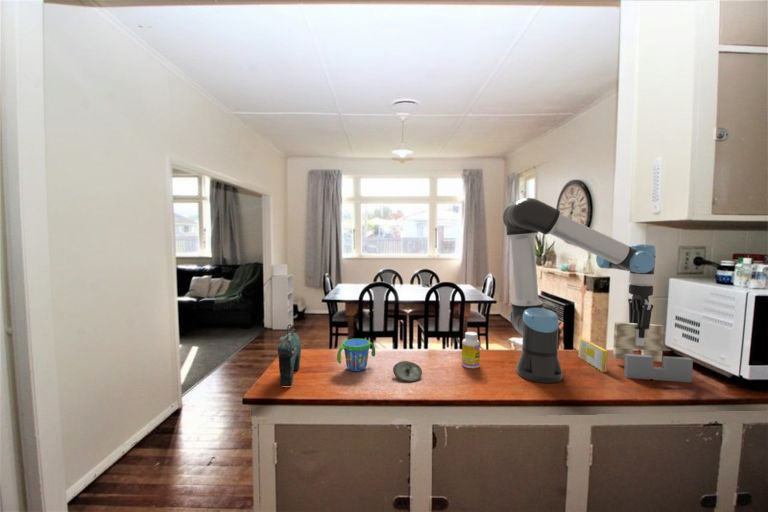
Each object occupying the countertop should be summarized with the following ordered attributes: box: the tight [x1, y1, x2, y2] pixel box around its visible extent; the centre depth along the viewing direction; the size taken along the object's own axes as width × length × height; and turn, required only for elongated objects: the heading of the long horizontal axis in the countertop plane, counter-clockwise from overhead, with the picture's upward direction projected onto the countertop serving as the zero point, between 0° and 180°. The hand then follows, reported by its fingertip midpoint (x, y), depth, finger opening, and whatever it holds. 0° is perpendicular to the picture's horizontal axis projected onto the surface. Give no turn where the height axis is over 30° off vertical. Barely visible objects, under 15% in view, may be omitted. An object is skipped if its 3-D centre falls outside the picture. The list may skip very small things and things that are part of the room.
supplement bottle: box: [461, 331, 481, 369], centre depth 133 cm, size 7×7×13 cm
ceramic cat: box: [277, 323, 302, 387], centre depth 122 cm, size 20×6×20 cm, turn 3°
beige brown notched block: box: [612, 321, 665, 363], centre depth 133 cm, size 16×2×14 cm, turn 79°
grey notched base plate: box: [623, 353, 694, 383], centre depth 121 cm, size 20×2×8 cm, turn 79°
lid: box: [392, 360, 423, 383], centre depth 123 cm, size 11×10×5 cm
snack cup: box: [336, 338, 376, 372], centre depth 131 cm, size 16×10×10 cm
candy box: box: [578, 337, 609, 373], centre depth 135 cm, size 16×2×8 cm, turn 179°
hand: (637, 344), depth 133 cm, fingers closed on beige brown notched block, 2 cm apart
